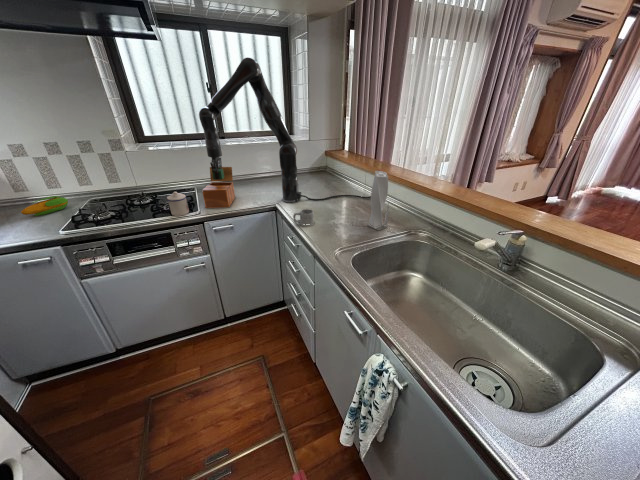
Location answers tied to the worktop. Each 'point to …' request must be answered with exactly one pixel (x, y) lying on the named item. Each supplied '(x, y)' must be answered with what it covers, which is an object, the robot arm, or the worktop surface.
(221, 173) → the sponge
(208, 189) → the wooden box
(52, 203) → the corn
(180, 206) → the teacup with lid
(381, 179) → the skyscraper
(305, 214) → the mug
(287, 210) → the worktop surface
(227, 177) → the flap
